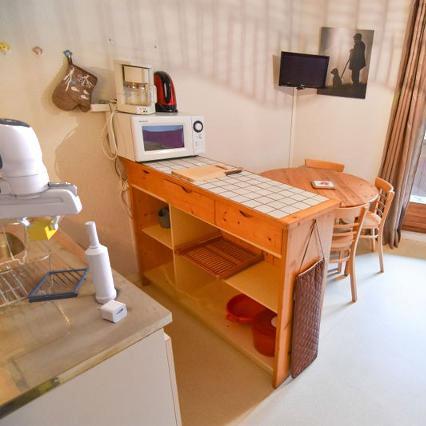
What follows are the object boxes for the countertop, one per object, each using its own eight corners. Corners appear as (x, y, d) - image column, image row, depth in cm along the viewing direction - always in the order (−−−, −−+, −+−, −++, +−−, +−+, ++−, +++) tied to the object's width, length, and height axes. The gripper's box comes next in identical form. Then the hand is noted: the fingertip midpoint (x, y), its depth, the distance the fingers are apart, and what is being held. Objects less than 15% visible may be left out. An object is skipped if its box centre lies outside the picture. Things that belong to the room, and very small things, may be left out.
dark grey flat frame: (29, 302, 90) (27, 297, 90) (49, 276, 102) (47, 271, 101) (76, 297, 94) (74, 291, 93) (90, 272, 105) (89, 267, 105)
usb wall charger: (114, 323, 86) (112, 311, 84) (95, 316, 88) (92, 304, 86) (127, 314, 89) (125, 302, 88) (108, 307, 91) (106, 296, 90)
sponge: (48, 239, 87) (45, 228, 86) (30, 241, 86) (26, 229, 84) (57, 230, 92) (54, 219, 91) (40, 231, 91) (37, 220, 90)
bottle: (118, 291, 98) (103, 218, 88) (115, 302, 93) (99, 226, 84) (98, 294, 96) (81, 219, 86) (94, 305, 92) (75, 227, 82)
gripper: (79, 178, 89) (89, 222, 94) (-14, 180, 82) (3, 228, 88) (70, 185, 83) (82, 232, 89) (-30, 188, 77) (-10, 238, 82)
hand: (42, 230), depth 88 cm, fingers closed on sponge, 4 cm apart
